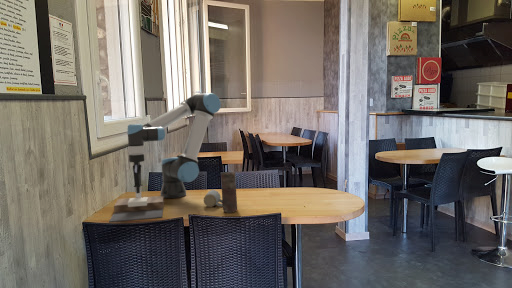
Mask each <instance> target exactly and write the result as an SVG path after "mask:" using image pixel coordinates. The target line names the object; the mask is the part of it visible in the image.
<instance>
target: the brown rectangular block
mask: <svg viewBox="0 0 512 288" xmlns="http://www.w3.org/2000/svg"><path fill="white" fill-rule="evenodd" d="M236 179H237V178H236V172H235V171H232V172H228V171H225V172H220V183H221V200H222V203H221V204H222V205H223V206H222V210H223V212H225V213H228V214H232V213H235V212H236V211H238V199H237V183H236Z"/></svg>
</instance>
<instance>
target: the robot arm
mask: <svg viewBox="0 0 512 288" xmlns="http://www.w3.org/2000/svg"><path fill="white" fill-rule="evenodd" d="M221 103H222V102H221V100H220V98H219V96H218V95H217V94H215V93H214V92H206V93H197V94H193V95H191V96H190V97H188V98H187V99H185V100H182V101H181V102H180V103H179V105H177V106H176V107H173V108H171V109H170V110H169V111H166V112H165V113H163V114H161V115H159V116H158V117H156V118H153V119H151V121H149V122H147V123H145V124H144V125H143V124H142V123H134V124H133V123H132V124H130V123H129V124H128V125H127V133H126V134H127V141H128V142H127V143H128V144H127V145H128V146H127V147H128V148H127V149H126V150H128V154H129V155H128V162H129V163H133V165H132V171H133V179H134V180H133V181H134V185H133V188H134V189H135V191H134V192H135V198H142V186H143V184H142V164H141V163H143V162H145V154H144V153H145V145H144V143H146V142H148V143H150V142H161V141H164V139H165V138H166V131H165V129H166V128H168V127H169V126H171V125H173V124H174V123H177V122H179V121H180V120H182V119H184V118H185V117H190V116H192V115H195V116H194V119H193V122H192V124H191V127H190V130H189V134H188V136H187V139H186V142H185V145H184V147H183V151H182V153H181V154H179V155H178V156H177V157H175V156H174V157H168V158H163V159H162V160H161V172H162V173H161V174H162V185H161V186H162V187H161V190H160V195H159V196H164V199H176V198H178V199H179V198H182V197H185V196H186V195H187V190H186V187H185V184H184V183H190V182H193V181H195V179H197V177H198V176H199V173H200V168H199V165H198V164H199V160H198V156H199V153H200V149H201V147H202V143H203V140H204V138H205V135H206V132H207V129H208V126H209V123H210V120H212V119H213V118H214V116H215V114H216V113H218V112H219V111H220V110H221V106H222V105H221Z"/></svg>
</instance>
